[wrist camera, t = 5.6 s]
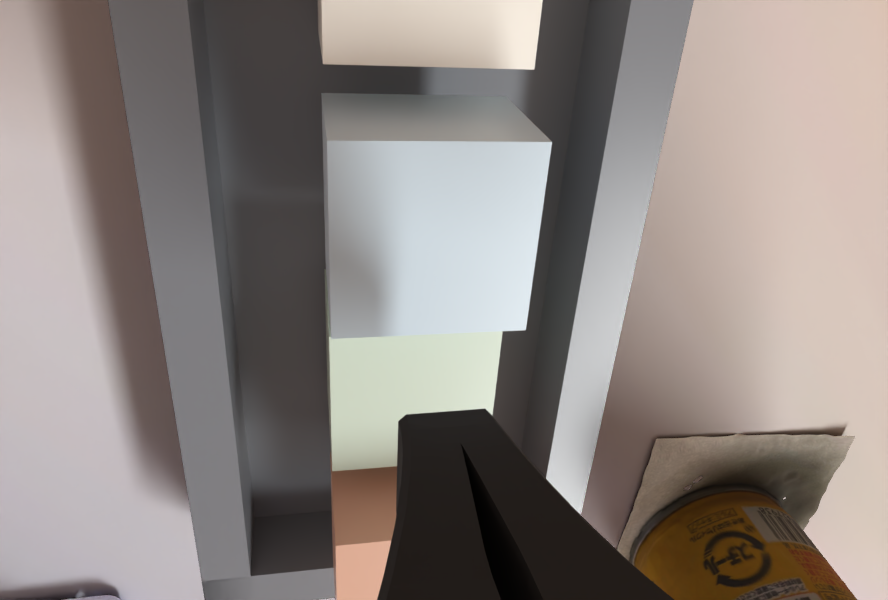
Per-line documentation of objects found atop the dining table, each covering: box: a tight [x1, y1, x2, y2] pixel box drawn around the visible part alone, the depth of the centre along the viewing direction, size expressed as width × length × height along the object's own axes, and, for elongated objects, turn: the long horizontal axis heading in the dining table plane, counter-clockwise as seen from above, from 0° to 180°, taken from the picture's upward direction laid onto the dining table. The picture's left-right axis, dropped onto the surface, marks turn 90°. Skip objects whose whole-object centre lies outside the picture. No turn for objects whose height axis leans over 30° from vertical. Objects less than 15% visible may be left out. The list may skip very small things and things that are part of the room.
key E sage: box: [324, 269, 503, 471], centre depth 16 cm, size 3×3×3 cm
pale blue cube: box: [321, 93, 552, 339], centre depth 12 cm, size 3×3×3 cm
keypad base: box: [108, 0, 694, 600], centre depth 16 cm, size 10×19×3 cm, turn 176°
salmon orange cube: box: [330, 452, 397, 600], centre depth 17 cm, size 3×3×3 cm
